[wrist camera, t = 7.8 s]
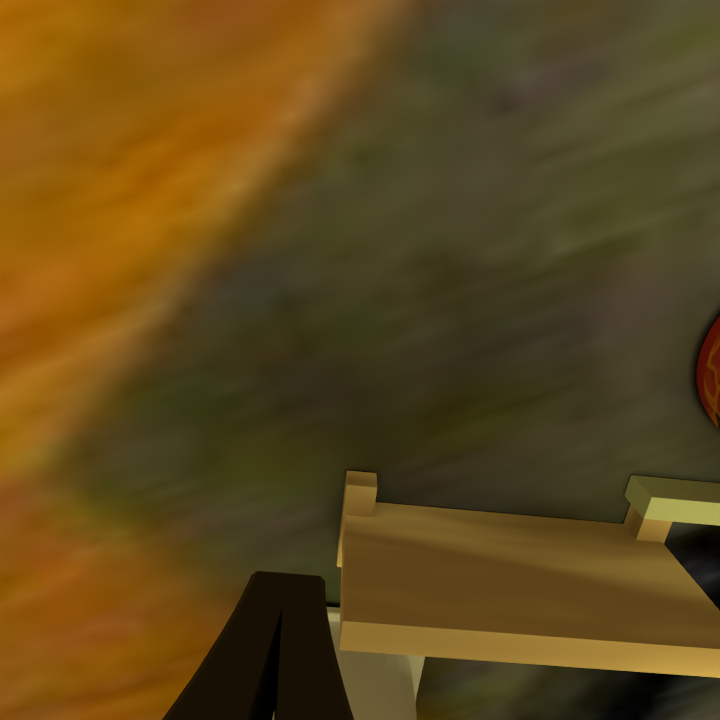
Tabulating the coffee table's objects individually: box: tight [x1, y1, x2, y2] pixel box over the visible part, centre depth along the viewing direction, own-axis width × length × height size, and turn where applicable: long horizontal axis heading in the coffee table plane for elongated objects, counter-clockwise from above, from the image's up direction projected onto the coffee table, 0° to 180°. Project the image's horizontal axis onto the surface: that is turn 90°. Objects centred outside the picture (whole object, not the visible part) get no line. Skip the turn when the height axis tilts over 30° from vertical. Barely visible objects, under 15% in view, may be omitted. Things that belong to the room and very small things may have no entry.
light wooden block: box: [337, 471, 720, 678], centre depth 18 cm, size 4×13×6 cm, turn 84°
